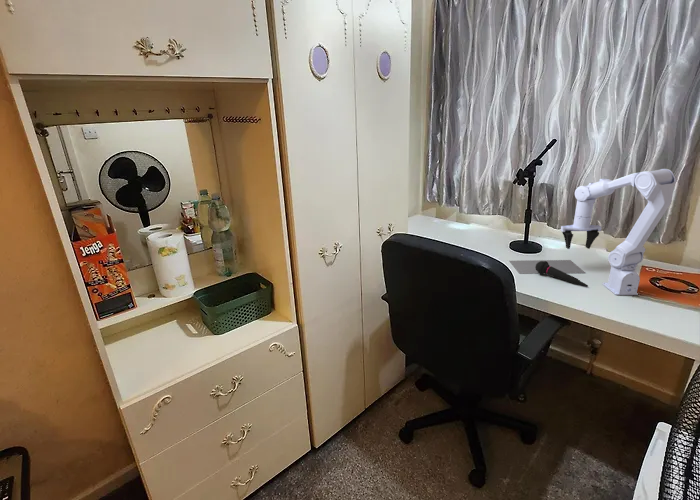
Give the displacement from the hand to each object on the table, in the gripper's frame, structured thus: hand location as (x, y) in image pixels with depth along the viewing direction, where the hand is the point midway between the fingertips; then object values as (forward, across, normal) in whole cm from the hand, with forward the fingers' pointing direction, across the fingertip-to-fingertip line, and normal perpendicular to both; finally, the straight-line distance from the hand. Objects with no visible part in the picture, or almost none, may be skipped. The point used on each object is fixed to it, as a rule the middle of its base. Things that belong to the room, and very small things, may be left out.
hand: (577, 248), depth 156 cm
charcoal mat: (+9, +10, -3) cm, 14 cm away
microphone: (+10, +10, +10) cm, 17 cm away
